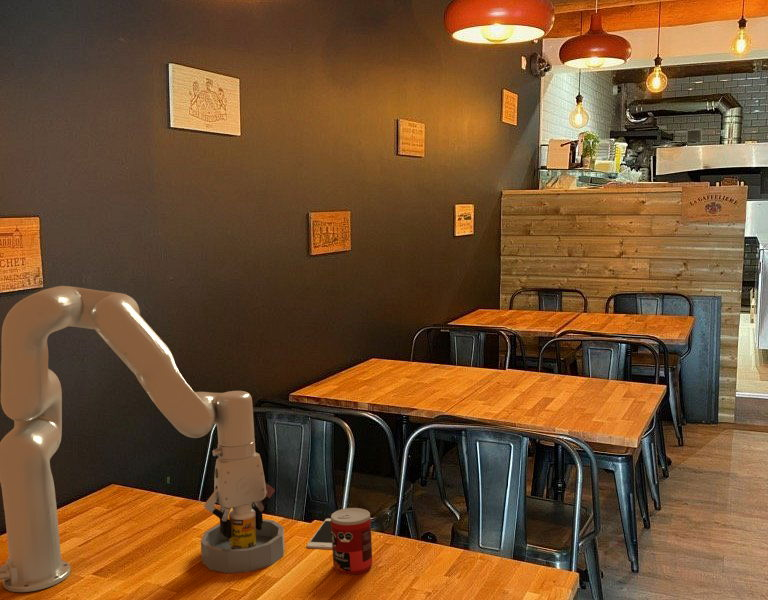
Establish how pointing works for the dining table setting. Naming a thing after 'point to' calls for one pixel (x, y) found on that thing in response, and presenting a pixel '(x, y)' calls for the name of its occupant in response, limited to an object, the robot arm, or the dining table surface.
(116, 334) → the robot arm
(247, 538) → the supplement bottle
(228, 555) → the bowl
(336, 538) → the canned food
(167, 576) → the dining table surface
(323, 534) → the smartphone
